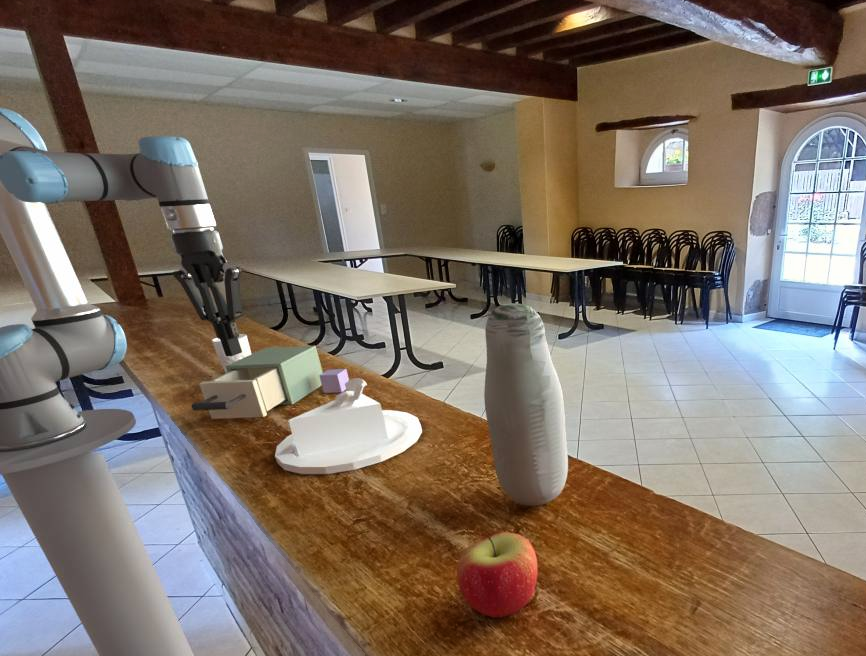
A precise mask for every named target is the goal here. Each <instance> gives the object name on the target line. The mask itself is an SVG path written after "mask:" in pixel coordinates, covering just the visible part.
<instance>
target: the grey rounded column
mask: <svg viewBox="0 0 866 656" xmlns="http://www.w3.org/2000/svg"><path fill="white" fill-rule="evenodd" d="M545 329H546V328H545V324H544V321H543V320H542V318H541V315H539V313H538V312H537V311H536V310H535V309H534V308H533V307H531V306H529V305H526V304H522V303H504V304H500V305H499V306H497V307H496V308H494V309H493V310H492V311H491V312H490V313H489V315H488V317H487V320H486V324H485V344H486V365H485V375H484V377H485V379H484V390H483V392H484V393H483V397H484V398H483V399H484V409H485V417H486V422H487V429H488V433H489V438H490V444H491V451H492V458H493V465H494V470H495V474H496V479H497V481H498V484H499V485H500V486H501V489H502V491H503V492H504V493H505V495H506V496H507V497H508V498H510V499H511V500H513V501H514V502H516V503H518V504H520V505H522V506H523V505H524V506H528V507H529V506H530V507H536V506H537V507H539V506H542V505H546V504H548V503H550V502H552V501H553V500H555V499H556V498H557V497H558V496H560V494H561V493H562V491H563V490H564V488H565V485H566V482H567V479H568V473H569V457H568V445H567V432H566V431H567V430H566V416H565V402H564V396H563V389H562V386H561V383H560V379H559V376H558V374H557V370H556V368H555V366H554V363H553V360H552V356H551V353H550V350H549V346H548V342H547V339H546V330H545Z"/></svg>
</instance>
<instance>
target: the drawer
mask: <svg viewBox="0 0 866 656" xmlns="http://www.w3.org/2000/svg"><path fill="white" fill-rule="evenodd" d="M198 385H199V388H200V390H201V393H202V396H203V399H204V400H203V401H201V402H193V403H192V404H191V409H192V410H193V411H208V414H209V416H210V419H213V420H215V419H216V420H217V419H243V418H244V419H246V418H264V417H266V416H267V415H268V414H267V412H268V411H270V410H272V409H273V408H274V407H277V406H279V405H278V404H279V403H281V402H283V401H284V400H286V399H287V396H286V392H285V389H284V385H283V382H282V379H281V375H280V372H279V368H278V367H269V368H244V369H235V370H232V371H230V372H228V373H226V374H225V373H224V374H222V375H219V376H218V377H216V378H214V379H211V380H209V381H202V382H200V383H198Z"/></svg>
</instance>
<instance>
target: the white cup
mask: <svg viewBox="0 0 866 656" xmlns="http://www.w3.org/2000/svg"><path fill="white" fill-rule="evenodd" d="M238 340H239V343H240V346H241V350H242V353H239V354H237V355H234V356H226V355H225V352H224V349H223V346H222V343H221V340H220V339H218V338H217V337H214V338H213V339H211V343H212V345H213V347H214V351H215V353H216V355H217V358H218V360H219V363H220V365H221V368H222V369H223V371H224V374H226V373H228V372H227V369H226V365H229V364H231V363H233V362H235V361H237V360H240V359H242V358H244V357H246V356H249V355H251V354H252V351H251V346H250V343H249V339H248V335H247V334H246V333H239V337H238Z"/></svg>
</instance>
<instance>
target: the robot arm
mask: <svg viewBox="0 0 866 656" xmlns="http://www.w3.org/2000/svg"><path fill="white" fill-rule="evenodd" d="M137 143H138V148H139V152H136V153H95V152H93V153H89V152H88V153H86V152H61V151H60V152H59V151H49V150H48V148H47V146H46V144H45V142H44V140H43V138H42V136H41V135H40V133H39V132H38V130H37V129H36V128H35V127H34V126H33V125H32V124H31V123H30V121H28V120H27V119H26V118H24V117H23V116H22V115H21V114H20V113H18V112H16V111H13V110H11V109H9V108H4V107H0V236H1V237H2V239H3V242H4V243H5V245H6V247H7V250H8V252H9V254H10V256H11V259H12V260H13V262H14V265H15V267H16V269H17V271H18V273H19V275H20V277H21V280H22V282H23V284H24V286H25V288H26V290H27V292H28V294H29V297H30V299H31V300H32V302H33V303H32V304H33V305H34V307H35V312H34V313H33V315H32V316H31V318H30V320H31V322H32V324H33V326H34V328H31V327H30V326H29V325H27V324H25V323H18V324H17V323H15V324H9V325H8V324H7V325H5V326H1V327H0V452H11V451H19V450H25V449H31V448H35V447H40V446H43V445H47V444H51V443H54V442H57V441H60V440H63V439H66V438H69V437H71V436H73V435H75V434H77V433H79V432H81V431H83V430H84V429H85V428H86V427H87V425H86V422H85V420H84V419H83V417H82V416H81V415H80V414H78V411H77V410H76V406H74V404H72V403H69V402H68V400H66V399H65V397H63V396H62V394H61V391H60V390H59V388H58V386H57V383H56V382H60V381H63V380H67V379H70V378H71V379H72V378H74V377H76V376H77V377H78V376H82V375H84V374H88V373H91V372H95V371H103V370H105V369H107V368H109V367H112V366H115V365H117V364H119V363H121V362H122V360H124V358H125V355H126V353H127V349H128V344H127V337H126V335H125V332H124V330H123V328H122V326H121V325H120V324H119V323H118V321H117V320H116V319H114V317H112V316H110V315H107V314H103V313H102V310H101V308H100V307H98V306H96V305H94V304H92V303H91V302H89V301H88V299H87V297H86V295H85V292H84V290H83V287H82V286H81V283H80V281H79V279H78V276H77V275H76V271H75V270H74V269H75V268H74V267H73V265H72V262H71V260H70V258H69V255H68V254H67V251H66V248H65V245H64V244H63V242H62V239H61V237H60V235H59V233H58V230H57V228H56V226H55V223H54V220H53V219H52V216H51V215H50V212H49V210H48V207H47V205H48V204H49V205H50V204H57V203H69V202H73V203H74V202H97V201H99V202H101V201H102V202H103V201H128V202H130V201H137V202H138V201H142V200H147V199H149V200H150V199H157V202H158V205H159V207H160V211H161V213H162V216H163V219H164V222H165V225H166V229H167V230H168V231H171V232H172V233H170V236H169V237H170V240H171V243H172V246H173V249H174V252H175V253H176V254H177V255H179V256H180V265H181V267H180V268H179V270H175V271H173V272H172V276H173V277H174V278H175V280H177V281H178V282H179V283H180V285H181V287H182V288H183V290H184V292H185V294H186V295H187V297H188V299H189V301H190V303H191V305H192V306H193V308H194V311H196V313H197V315H198V317H199V319H200V320H201V321H206V322H207V321H208V322H209V323H210V324H212V326H213V330H214V333H215V336H216V338H218V339H220V340H221V343H222V346H223V349H224V352H225V355H226V356H234V355H237V354H239V353H242V350H241V346H240V343H239V340H238V337H239V334H240V333H239V329H238V326H237V323H236V320H237V319H239V318H242V317H243V316H244V310H243V301H242V290H241V281H240V280H241V276H242V272H243V271H242V268H241V267H240V266H237V267H236V266H235V267H234V266H233V265H231V264H229V263H228V260H227V258H226V257H225V256H224V255H223V250H224V246H223V245H224V244H223V242H222V239H221V236H220V235H221V234H220V232H219V231H218V230H216V229H215V228H216V227H217V223H216V219H215V216H214V213H213V209H212V207H211V204H210V201H209V197H208V194H207V190H206V188H205V187H206V186H205V184H204V182H203V177H202V174H201V171H200V168H199V162H198V161H197V158H196V156H195V154H194V150H193V148H192V146H191V143H190V142H189V141H188V140H187V139H186V138H183V137H181V136H172V135H171V136H170V135H157V136H156V135H151V136H143V137H141V138H139V139H138V141H137ZM46 204H47V205H46Z"/></svg>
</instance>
